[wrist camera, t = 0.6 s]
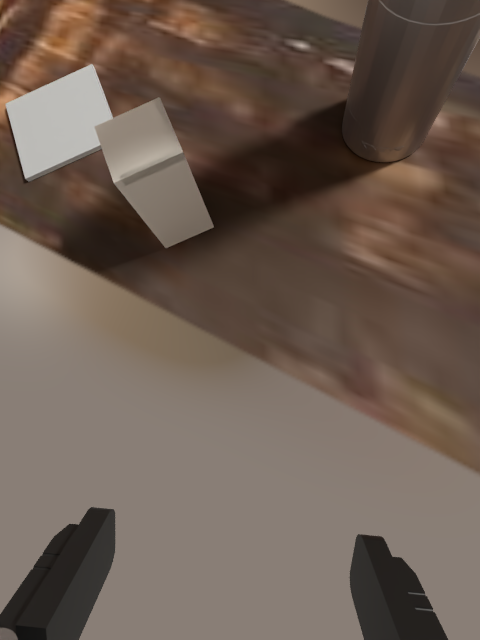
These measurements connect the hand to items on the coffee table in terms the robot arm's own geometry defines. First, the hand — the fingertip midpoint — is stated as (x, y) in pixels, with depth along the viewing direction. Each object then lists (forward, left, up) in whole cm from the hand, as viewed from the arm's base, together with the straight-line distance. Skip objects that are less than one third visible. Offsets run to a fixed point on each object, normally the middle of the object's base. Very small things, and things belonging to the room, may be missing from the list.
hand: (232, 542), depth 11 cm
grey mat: (-32, -36, -22) cm, 52 cm away
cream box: (-22, -16, -22) cm, 34 cm away
